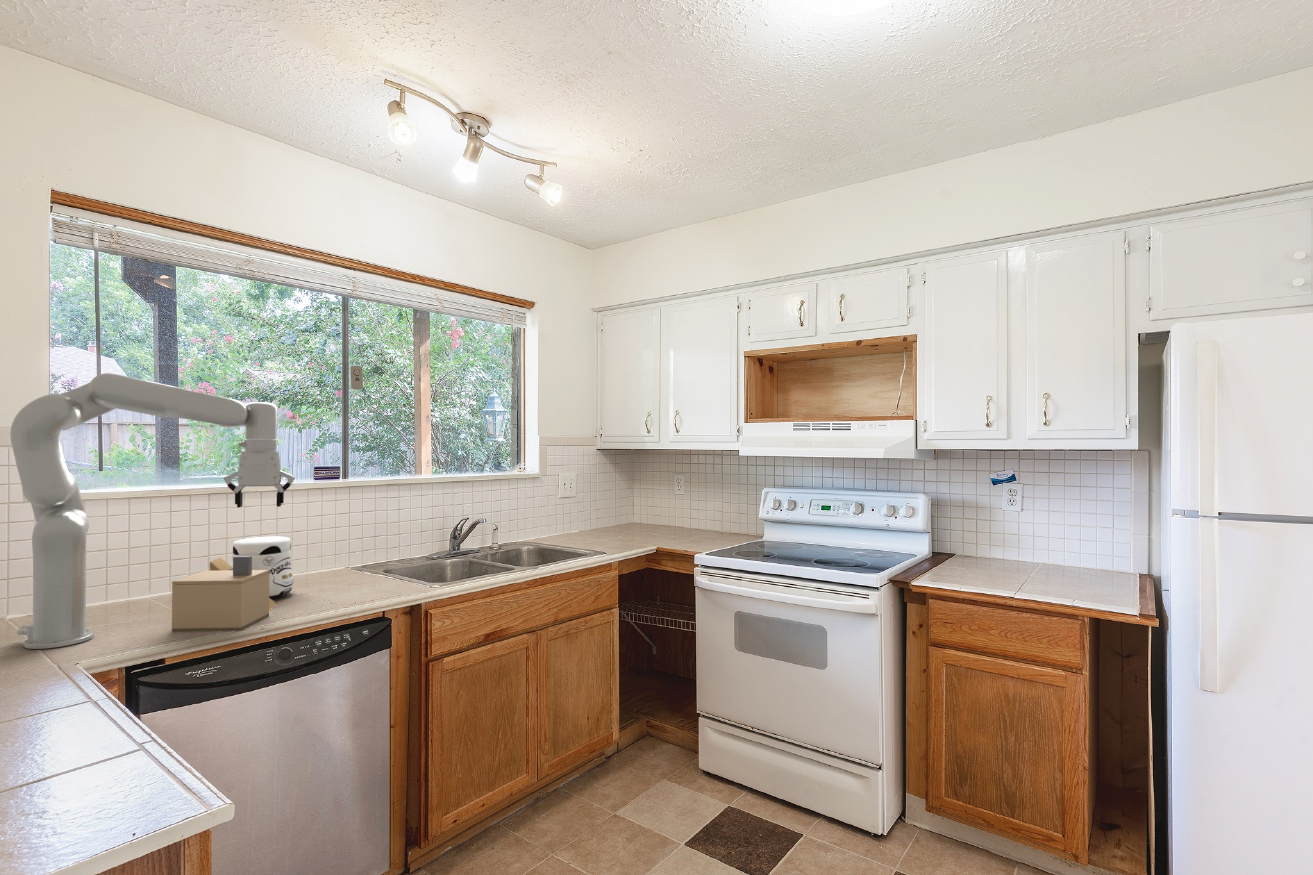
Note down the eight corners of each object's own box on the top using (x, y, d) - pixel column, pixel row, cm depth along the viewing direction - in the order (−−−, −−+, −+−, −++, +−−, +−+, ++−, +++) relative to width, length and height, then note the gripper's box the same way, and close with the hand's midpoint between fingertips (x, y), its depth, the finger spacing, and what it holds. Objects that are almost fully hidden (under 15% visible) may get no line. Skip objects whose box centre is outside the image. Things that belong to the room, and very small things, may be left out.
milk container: (296, 599, 202) (296, 541, 203) (229, 607, 193) (230, 546, 193) (290, 588, 217) (291, 534, 217) (228, 595, 207) (228, 538, 207)
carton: (171, 631, 168) (172, 584, 168) (205, 617, 182) (205, 573, 182) (241, 630, 169) (241, 583, 169) (269, 616, 183) (269, 573, 183)
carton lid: (172, 584, 168) (172, 561, 168) (205, 573, 182) (205, 552, 182) (241, 583, 169) (241, 561, 169) (269, 572, 183) (269, 551, 183)
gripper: (221, 445, 178) (220, 508, 178) (293, 446, 185) (292, 507, 185) (228, 445, 185) (227, 506, 185) (297, 446, 192) (296, 504, 192)
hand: (259, 506), depth 185 cm, fingers open, 9 cm apart
